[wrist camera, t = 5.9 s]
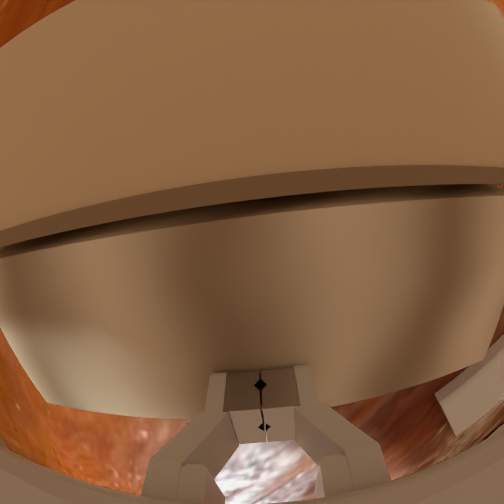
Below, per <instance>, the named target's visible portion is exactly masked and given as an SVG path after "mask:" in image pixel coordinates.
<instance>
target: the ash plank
mask: <svg viewBox="0 0 504 504" xmlns="http://www.w3.org/2000/svg"><path fill="white" fill-rule="evenodd" d="M503 306H504V188H502V187H499V186H496V185H493V184H447V185H418V186H398V187H381V188H366V189H352V190H340V191H328V192H317V193H307V194H297V195H288V196H279V197H270V198H262V199H253V200H245V201H238V202H230V203H223V204H216V205H209V206H202V207H195V208H189V209H182V210H176V211H170V212H164V213H158V214H152V215H146V216H140V217H135V218H129V219H124V220H119V221H113V222H108V223H103V224H98V225H93V226H88V227H83V228H79V229H74V230H69V231H65V232H60V233H56V234H51V235H47V236H43V237H39V238H34V239H30V240H26V241H22V242H18V243H14V244H10V245H6V246H3V247H0V328H1V330H2V331H3V333H4V335H5V337H6V339H7V341H8V343H9V345H10V346H11V348H12V350H13V352H14V353H15V355H16V357H17V358H18V360H19V362H20V363H21V365H22V367H23V368H24V370H25V371H26V373H27V374H28V376H29V377H30V379H31V380H32V382H33V383H34V385H35V386H36V388H37V389H38V391H39V392H40V393H41V395H42V396H43V398H44V399H45V400H46V402H47V403H51V404H56V405H61V406H65V407H70V408H76V409H81V410H87V411H93V412H100V413H107V414H115V415H124V416H134V417H147V418H164V419H193V418H194V417H195V416H196V415H197V414H198V413H199V412H204V411H205V404H206V398H207V391H208V385H209V378H210V375H211V373H225V372H241V371H260V375H261V370H267V369H276V368H284V367H292V366H299V365H306V364H309V365H310V366H311V369H312V373H313V378H314V382H315V386H316V390H317V395H318V399H319V403H323V402H325V403H326V404H327V405H328V406H330V407H333V406H339V405H344V404H348V403H353V402H357V401H362V400H366V399H370V398H374V397H378V396H382V395H386V394H389V393H393V392H396V391H400V390H403V389H407V388H410V387H413V386H416V385H419V384H422V383H425V382H428V381H431V380H434V379H437V378H440V377H442V376H445V375H448V374H450V373H453V372H455V371H458V370H460V369H463V368H465V367H468V366H470V365H472V364H475V363H477V362H479V361H481V360H484V358H485V355H486V353H487V350H488V348H489V346H490V343H491V340H492V338H493V335H494V333H495V330H496V327H497V324H498V321H499V318H500V315H501V312H502V309H503ZM261 387H262V381H261Z"/></svg>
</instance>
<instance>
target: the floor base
mask: <svg viewBox="0 0 504 504" xmlns="http://www.w3.org/2000/svg"><path fill="white" fill-rule="evenodd" d="M447 184H493V185H496V186H497V184H504V23H503V20H502V17H501V14H500V12H499V9H498V6H496V5H495V4H493V3H491V2H489V1H487V0H75V1H73V2H71V3H69V4H67V5H65V6H64V7H62V8H60V9H58V10H56V11H55V12H53V13H51V14H49V15H48V16H46V17H44V18H43V19H41V20H39V21H38V22H36V23H35V24H33V25H32V26H30V27H29V28H27V29H26V30H24V31H23V32H21V33H20V34H18V35H17V36H15V37H14V38H13V39H11V40H10V41H9V42H7V43H6V44H5V45H3V46H2V47H1V48H0V247H3V246H6V245H10V244H14V243H18V242H22V241H26V240H30V239H34V238H39V237H43V236H47V235H51V234H56V233H60V232H65V231H69V230H74V229H79V228H83V227H88V226H93V225H98V224H103V223H108V222H113V221H119V220H124V219H129V218H135V217H140V216H146V215H152V214H158V213H164V212H170V211H176V210H182V209H189V208H195V207H202V206H209V205H216V204H223V203H230V202H238V201H245V200H253V199H262V198H270V197H279V196H288V195H297V194H307V193H317V192H328V191H340V190H352V189H366V188H381V187H398V186H418V185H447Z"/></svg>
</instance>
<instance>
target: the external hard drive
mask: <svg viewBox="0 0 504 504" xmlns="http://www.w3.org/2000/svg"><path fill="white" fill-rule="evenodd" d="M434 395H435V397H436V399H437V401H438V402H439V404H440V406H441V408H442V410H443V412H444V414H445V416H446V418H447V420H448V422H449V424H450V426H451V429H452V430H453V432H454V434H455V436H458V435H459V434H461V433H462V432H463V431H465V430H466V429H467V428H469V427H470V426H471V425H473V424H474V423H475V422H476V421H478V420H479V419H480V418H481V417H483V416H484V415H485V414H486V413H487V412H488V411H490V410H491V409H492V408H493V407H494V406H495V405H496V404H498V403H499V402H500V401H501V400H502V399H503V398H504V334H503V335H502V336H501V337H500V338H499V339H498V340H497V341H496V342H495V343H494V344H493V345H492V346H491V347H490V348H489V349H488V350H487V353H486V355H485V358H484V360H481V361H479V362H477V363H475V364H472V365H470V366H469V367H467V368H466V369H465V370H464V371H463V372H461V373H460V374H459V375H458V376H457V377H455V378H454V379H453V380H452V381H450V382H449V383H448V384H446V385H445V386H444V387H442V388H441V389H440V390H438V391H437V392H436V393H434Z"/></svg>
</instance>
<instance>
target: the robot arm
mask: <svg viewBox="0 0 504 504" xmlns="http://www.w3.org/2000/svg"><path fill="white" fill-rule="evenodd" d="M261 381H262V387H261ZM265 423H266V429H265ZM266 434H267V439H268V442H270V441H284V440H295V441H296V442H297V443H298V444H299V445H300V446H301V447H302V448H303V449H304V451H305V452H306V453H307V454H308V455H309V456H310V457H311V458H312V459H313V460H314V461H315V462H316V463H317V464H318V465H319V468H318V474H317V480H316V486H315V499H308V500H301V501H292V502H282V503H269V504H504V424H502V425H501V426H500V427H499V428H498V429H497V430H495V431H494V432H493V433H492V434H491V435H490V436H489V437H488V438H487V439H485V440H484V441H482V442H480V443H478V444H476V445H475V446H473V447H471V448H469V449H467V450H465V451H463V452H461V453H459V454H457V455H455V456H453V457H451V458H449V459H446V460H444V461H442V462H440V463H437V464H435V465H433V466H430V467H428V468H425V469H423V470H420V471H418V472H415V473H412V474H410V475H407V476H404V477H401V478H398V479H395V480H392V481H391V478H390V475H389V472H388V469H387V465H386V462H385V459H384V456H383V453H382V450H381V447H380V444H379V443H378V442H377V441H375V440H374V439H372V438H371V437H370V436H368V435H367V434H365V433H364V432H363V431H361V430H360V429H359V428H357V427H356V426H355V425H353V424H352V423H351V422H349V421H348V420H347V419H345V418H344V417H343V416H341V415H340V414H339V413H337V412H336V411H335V410H333V409H332V408H331V407H330V406H328V405H327V404H326V403H325V402H323V403H319V399H318V395H317V390H316V386H315V382H314V378H313V373H312V369H311V366H310V365H309V364H306V365H299V366H292V367H284V368H276V369H267V370H261V375H260V371H241V372H225V373H211V375H210V378H209V385H208V391H207V398H206V404H205V411H204V412H199V413H198V414H197V415H196V416H195V417H194V418H193V419H192V420H191V421H190V422H189V423H188V424H187V425H186V426H185V427H184V428H183V429H182V430H181V431H180V432H179V433H178V434H177V435H176V436H175V437H174V438H172V439H171V440H170V441H169V442H168V443H167V444H166V445H165V446H164V447H163V448H162V449H161V450H159V451H158V452H157V453H156V454H155V455H154V456H153V457H152V458H151V459H150V461H149V465H148V469H147V473H146V477H145V481H144V485H143V489H142V494H141V496H140V495H135V494H130V493H126V492H121V491H117V490H113V489H109V488H105V487H102V486H98V485H95V484H91V483H88V482H85V481H82V480H78V479H75V478H73V477H70V476H67V475H64V474H61V473H59V472H56V471H54V470H51V469H49V468H46V467H44V466H41V465H39V464H37V463H35V462H32V461H30V460H28V459H26V458H24V457H22V456H20V455H18V454H16V453H14V452H12V451H10V450H8V449H6V448H4V447H2V446H1V445H0V504H225V496H224V495H223V493H222V492H221V490H220V489H219V487H218V486H217V484H216V483H215V481H214V479H215V477H216V476H217V475H218V473H219V472H220V471H221V469H222V468H223V467H224V465H225V464H226V463H227V461H228V460H229V459H230V457H231V456H232V454H233V453H234V452H235V450H236V449H237V447H238V446H239V444H245V443H258V442H266Z"/></svg>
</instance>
